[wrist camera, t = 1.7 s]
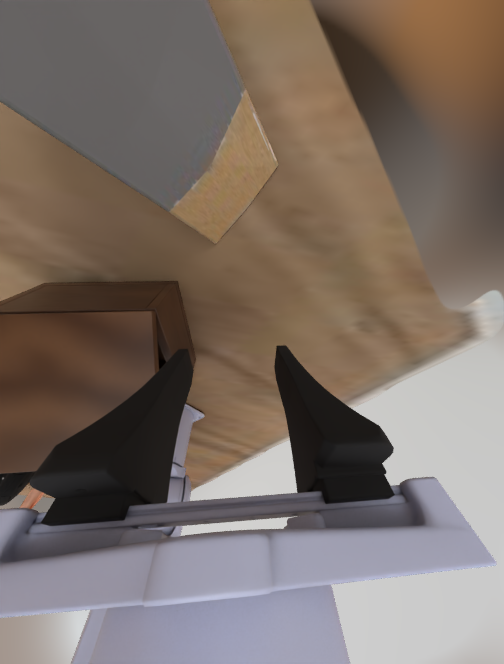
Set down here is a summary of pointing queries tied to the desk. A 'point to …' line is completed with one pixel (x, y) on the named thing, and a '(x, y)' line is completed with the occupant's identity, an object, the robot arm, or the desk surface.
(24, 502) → the grandmother figurine
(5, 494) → the webcam
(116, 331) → the lid
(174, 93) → the sandwich container
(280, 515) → the robot arm
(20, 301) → the walnut box
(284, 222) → the desk surface
